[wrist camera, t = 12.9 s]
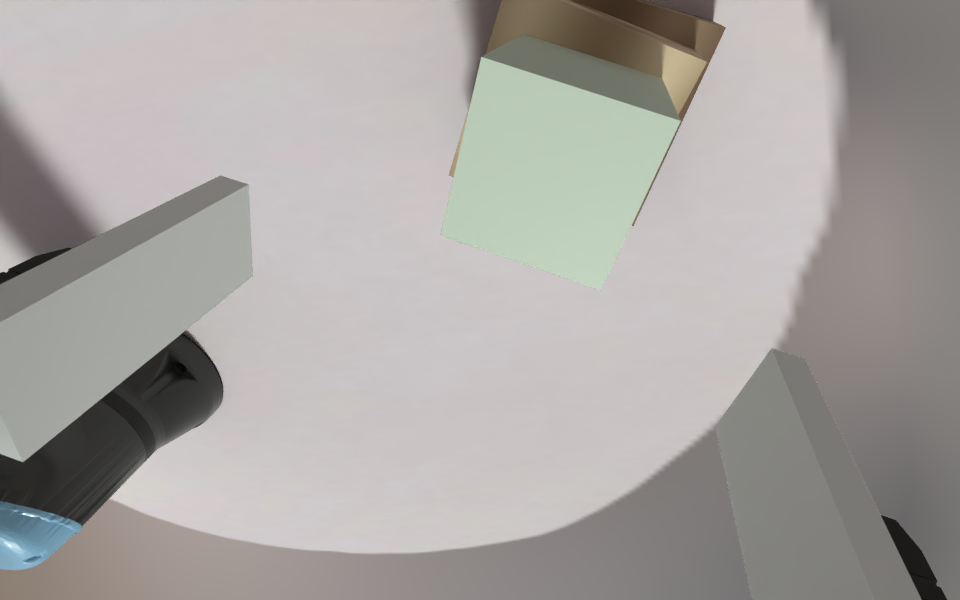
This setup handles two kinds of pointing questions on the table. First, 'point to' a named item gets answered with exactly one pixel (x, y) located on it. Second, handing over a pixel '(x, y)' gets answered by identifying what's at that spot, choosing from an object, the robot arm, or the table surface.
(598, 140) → the sage block
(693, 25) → the walnut slab
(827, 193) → the table surface
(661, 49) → the oak slab
